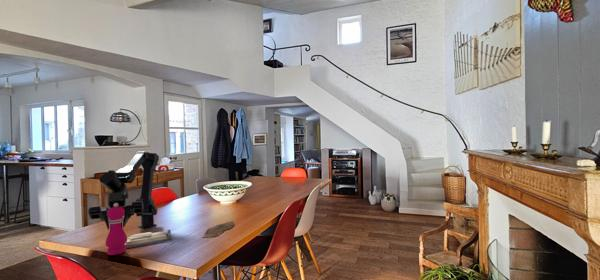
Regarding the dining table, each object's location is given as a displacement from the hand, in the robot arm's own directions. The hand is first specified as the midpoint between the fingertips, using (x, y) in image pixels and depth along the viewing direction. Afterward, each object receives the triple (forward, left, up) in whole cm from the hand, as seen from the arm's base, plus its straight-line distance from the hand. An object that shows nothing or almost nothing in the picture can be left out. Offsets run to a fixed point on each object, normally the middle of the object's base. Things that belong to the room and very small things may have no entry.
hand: (115, 228), depth 108 cm
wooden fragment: (+15, +41, -11) cm, 45 cm away
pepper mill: (-1, +1, -10) cm, 10 cm away
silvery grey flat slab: (-3, +14, -11) cm, 18 cm away
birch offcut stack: (-3, +14, -10) cm, 17 cm away
